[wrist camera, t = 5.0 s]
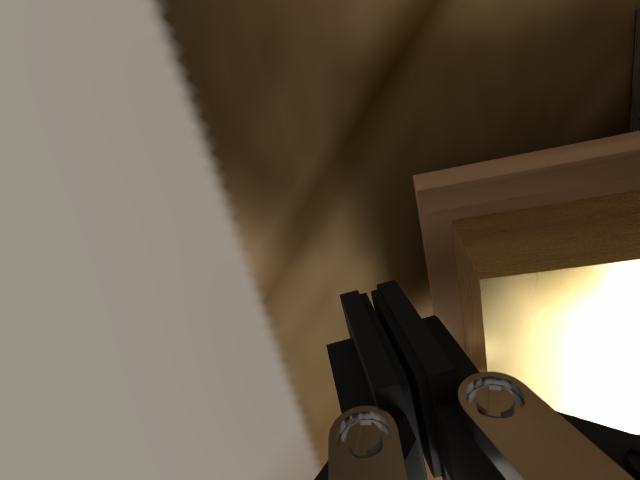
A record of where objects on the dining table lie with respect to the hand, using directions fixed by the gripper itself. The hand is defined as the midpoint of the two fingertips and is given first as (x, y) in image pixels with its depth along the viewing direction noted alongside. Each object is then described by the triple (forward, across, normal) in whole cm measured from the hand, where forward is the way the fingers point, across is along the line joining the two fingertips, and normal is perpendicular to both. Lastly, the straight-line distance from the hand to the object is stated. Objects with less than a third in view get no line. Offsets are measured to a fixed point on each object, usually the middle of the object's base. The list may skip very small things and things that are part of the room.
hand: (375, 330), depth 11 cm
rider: (0, -6, 0) cm, 6 cm away
